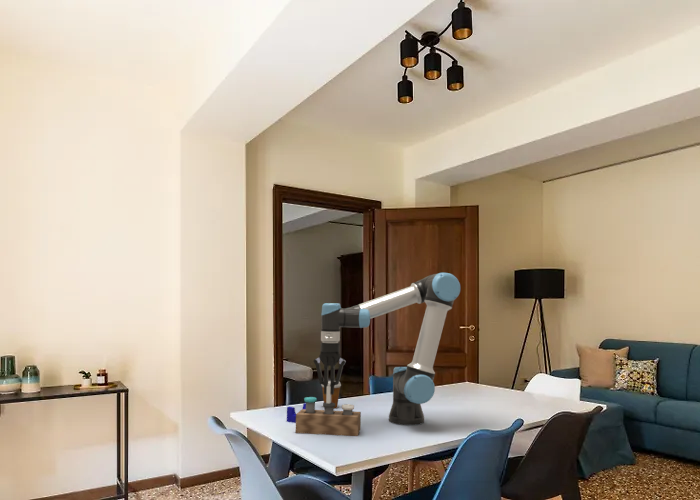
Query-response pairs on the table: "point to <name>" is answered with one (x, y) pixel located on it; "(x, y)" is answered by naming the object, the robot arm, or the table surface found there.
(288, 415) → the blue u-shaped block
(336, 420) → the socket block
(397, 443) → the table surface
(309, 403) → the plug teal
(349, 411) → the plug grey
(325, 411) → the plug black
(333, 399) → the disposable coffee cup
